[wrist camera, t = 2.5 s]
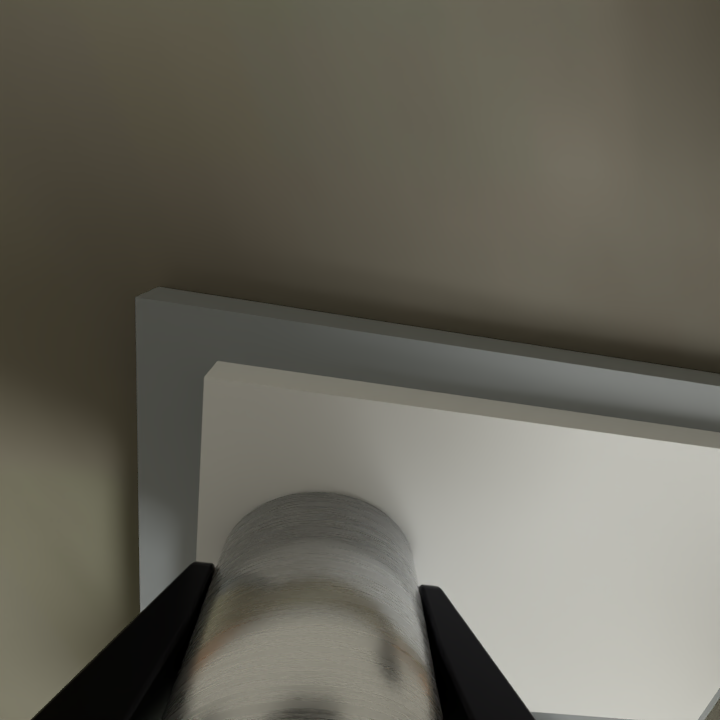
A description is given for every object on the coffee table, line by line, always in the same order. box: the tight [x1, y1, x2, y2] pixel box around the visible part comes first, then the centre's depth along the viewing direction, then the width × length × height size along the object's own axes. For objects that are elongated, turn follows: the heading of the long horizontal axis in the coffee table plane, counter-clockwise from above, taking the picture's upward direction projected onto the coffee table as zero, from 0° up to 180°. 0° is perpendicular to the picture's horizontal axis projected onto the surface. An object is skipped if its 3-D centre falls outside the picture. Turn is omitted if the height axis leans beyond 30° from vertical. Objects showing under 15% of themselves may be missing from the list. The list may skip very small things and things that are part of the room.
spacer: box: [161, 492, 443, 720], centre depth 7 cm, size 4×4×4 cm
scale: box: [135, 287, 720, 720], centre depth 9 cm, size 16×15×5 cm
